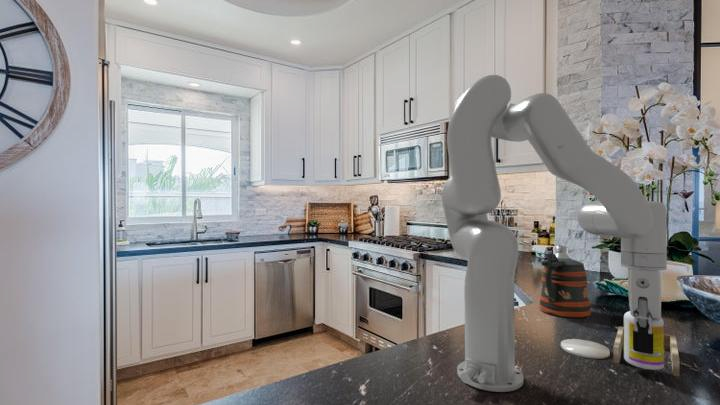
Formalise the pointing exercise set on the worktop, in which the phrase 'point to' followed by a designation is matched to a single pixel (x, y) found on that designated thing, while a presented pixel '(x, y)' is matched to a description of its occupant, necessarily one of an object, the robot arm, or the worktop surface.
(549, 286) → the beer stein
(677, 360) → the frame
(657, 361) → the supplement bottle
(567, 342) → the disc
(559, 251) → the plastic bottle
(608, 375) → the worktop surface
